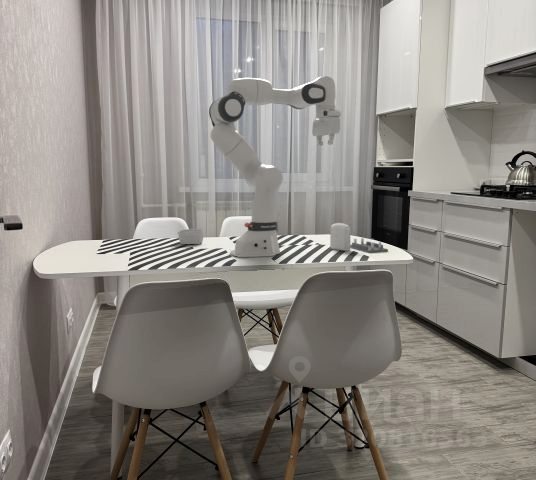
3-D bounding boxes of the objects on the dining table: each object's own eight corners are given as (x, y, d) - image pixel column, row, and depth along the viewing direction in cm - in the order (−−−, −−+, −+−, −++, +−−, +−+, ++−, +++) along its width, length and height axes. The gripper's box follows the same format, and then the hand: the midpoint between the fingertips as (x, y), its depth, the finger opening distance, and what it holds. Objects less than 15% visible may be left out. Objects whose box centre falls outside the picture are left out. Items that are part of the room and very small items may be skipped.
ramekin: (173, 245, 237) (172, 231, 236) (185, 241, 250) (184, 228, 249) (197, 246, 234) (197, 232, 233) (208, 242, 246) (207, 229, 245)
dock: (368, 252, 209) (369, 244, 208) (347, 247, 225) (347, 238, 225) (387, 251, 213) (387, 242, 212) (365, 245, 229) (365, 237, 229)
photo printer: (328, 248, 221) (329, 222, 219) (335, 247, 224) (335, 222, 222) (345, 251, 213) (345, 224, 211) (351, 250, 216) (352, 223, 214)
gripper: (309, 116, 223) (308, 146, 225) (330, 111, 204) (330, 143, 206) (320, 116, 225) (320, 146, 227) (343, 111, 206) (342, 143, 208)
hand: (325, 145), depth 216 cm, fingers open, 8 cm apart
